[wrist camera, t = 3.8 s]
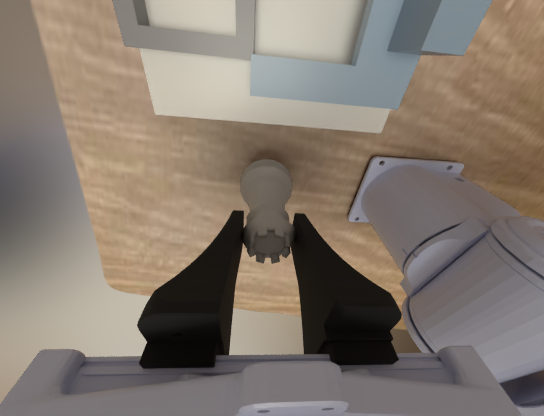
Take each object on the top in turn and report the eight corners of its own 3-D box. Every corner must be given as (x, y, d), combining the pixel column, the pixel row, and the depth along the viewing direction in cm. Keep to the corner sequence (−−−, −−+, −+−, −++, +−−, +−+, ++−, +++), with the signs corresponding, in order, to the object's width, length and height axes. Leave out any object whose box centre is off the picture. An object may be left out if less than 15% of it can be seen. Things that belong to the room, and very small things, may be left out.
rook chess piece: (301, 176, 18) (325, 243, 11) (269, 209, 20) (274, 282, 13) (260, 145, 16) (261, 203, 10) (230, 185, 18) (213, 255, 12)
